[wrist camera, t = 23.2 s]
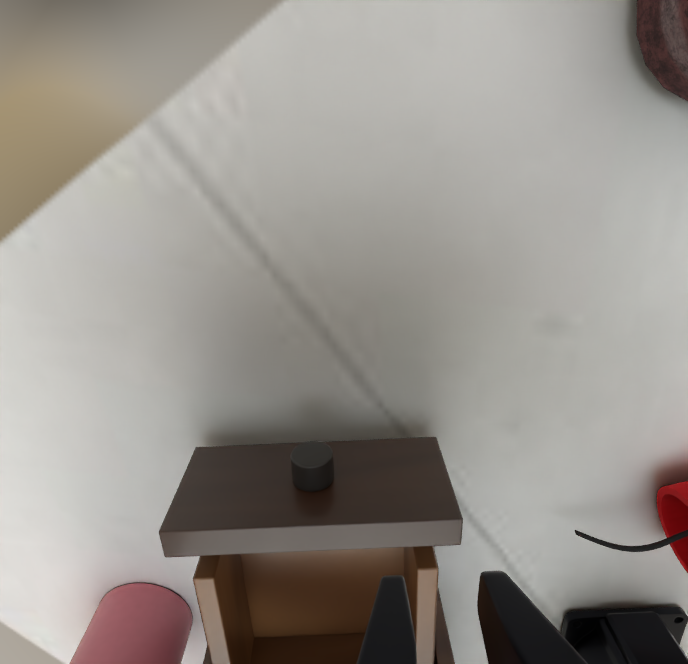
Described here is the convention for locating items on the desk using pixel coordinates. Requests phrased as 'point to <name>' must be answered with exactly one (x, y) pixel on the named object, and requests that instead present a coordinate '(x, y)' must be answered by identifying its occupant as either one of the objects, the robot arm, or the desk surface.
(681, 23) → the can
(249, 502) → the drawer
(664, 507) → the dynamite stick
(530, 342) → the desk surface
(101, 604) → the lotion bottle
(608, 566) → the desk surface
